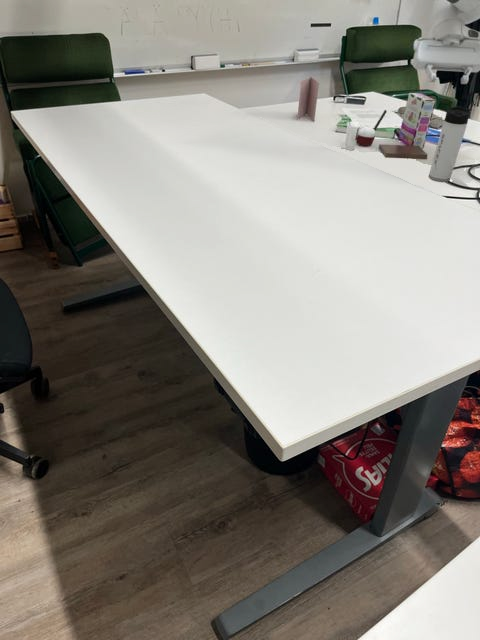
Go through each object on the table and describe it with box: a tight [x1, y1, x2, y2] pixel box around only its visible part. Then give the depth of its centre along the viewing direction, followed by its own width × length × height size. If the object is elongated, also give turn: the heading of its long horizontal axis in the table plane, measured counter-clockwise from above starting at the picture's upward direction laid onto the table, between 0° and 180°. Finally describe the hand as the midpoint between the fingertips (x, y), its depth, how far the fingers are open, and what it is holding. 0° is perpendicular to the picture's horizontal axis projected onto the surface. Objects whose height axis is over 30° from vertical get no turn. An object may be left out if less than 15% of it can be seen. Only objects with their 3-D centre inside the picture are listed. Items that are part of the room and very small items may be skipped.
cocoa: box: [356, 109, 388, 147], centre depth 167 cm, size 10×6×12 cm, turn 68°
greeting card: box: [296, 76, 320, 122], centre depth 191 cm, size 11×7×15 cm, turn 154°
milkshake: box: [344, 120, 362, 152], centre depth 162 cm, size 5×5×10 cm
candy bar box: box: [397, 92, 437, 150], centre depth 168 cm, size 11×5×16 cm, turn 10°
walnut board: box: [378, 143, 429, 160], centre depth 164 cm, size 14×10×2 cm
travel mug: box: [428, 105, 471, 183], centre depth 139 cm, size 6×7×20 cm
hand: (448, 81), depth 141 cm, fingers open, 8 cm apart
